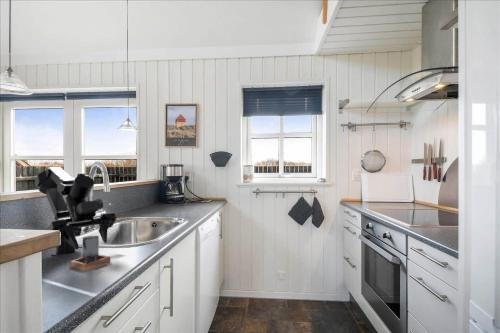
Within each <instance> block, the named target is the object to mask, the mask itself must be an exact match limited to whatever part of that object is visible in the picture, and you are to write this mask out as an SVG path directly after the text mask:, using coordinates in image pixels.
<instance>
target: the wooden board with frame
mask: <svg viewBox="0 0 500 333" xmlns="http://www.w3.org/2000/svg"><path fill="white" fill-rule="evenodd" d="M125 256H126V255H125V254H121V253H112V254H109V255H104V254H100V253H99V260H96V261H93V262H91V263H88V264H86V263H83V256H82V257H78V258H75V259H73V260H70V261H69V268H70V269H75V270H80V271H82V272H83V271H84V272H88V271H91V270H99V269H102V268H105V267H107V266H108V264H110V263H111V261H114V260H117V259H120V258H123V257H125Z"/></svg>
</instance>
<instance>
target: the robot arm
mask: <svg viewBox="0 0 500 333" xmlns="http://www.w3.org/2000/svg"><path fill="white" fill-rule="evenodd" d="M34 185H35V186H34V187H37V191H39V192H40V193H42V194H44V195H46V198H47V202H49V206H50V209H51V211H52V213H53V216H54V218H53V219H54V220H52V221H51V223H50V225H49V226H48V227H49V228H48V230H59V231H60V232H61V245H60V246H59V247H57V248H56V247H55V252H51V256H55V257H56V256H60V255H64V254H65V255H70V254H72V253H75V252H76V250H79V248H80V247H79V242H78V240H77V237H80V236H81V233H82V228H86V227H92V226H99V229H98V233H99V235H100V236H101V239H102V240H101V241H102V242H103V243H104V244H107V242H108V230H109V229H110V228H112V227H113V226H114V225H115V224H114V223H115V222H116V220H117V218H118V217H117V214H116V213H115V212H113V211H112V212H106V213H102V214H101V216H100V218H94V217H96V215H97V213H96V212H98V211H99V210H102V209H103V208H104V202H103V200H102V198H97V199H95V200H89V201H88V200H87V198H88V197H90V194H91V191H92V190H93V188H94V186H95V179H93V178H92V177H90V176H89V175H86V173H77V175H76V177H73V176H70V175H69V174H68V173H67V172H66V171H64V169H63V167H60V166H58V167H57V166H52V167H51V166H49V167H46V168H45V170H44V171H42V172H40V173H38V174H37V175H36V176H35V179H34ZM63 196H66V197H65V198H64V197H63Z"/></svg>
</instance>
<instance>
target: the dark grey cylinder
mask: <svg viewBox="0 0 500 333" xmlns="http://www.w3.org/2000/svg"><path fill="white" fill-rule="evenodd" d="M99 239H100V238H99V236H98V235H88V236H84V237H82V257H83V263H86V264H88V263H91V262H93V261H96V260H99V254H100V253H99V251H100V249H99V248H100V247H99V246H100V244H99V242H100V241H99Z"/></svg>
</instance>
